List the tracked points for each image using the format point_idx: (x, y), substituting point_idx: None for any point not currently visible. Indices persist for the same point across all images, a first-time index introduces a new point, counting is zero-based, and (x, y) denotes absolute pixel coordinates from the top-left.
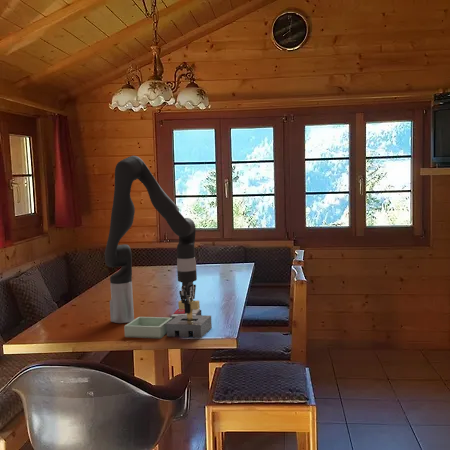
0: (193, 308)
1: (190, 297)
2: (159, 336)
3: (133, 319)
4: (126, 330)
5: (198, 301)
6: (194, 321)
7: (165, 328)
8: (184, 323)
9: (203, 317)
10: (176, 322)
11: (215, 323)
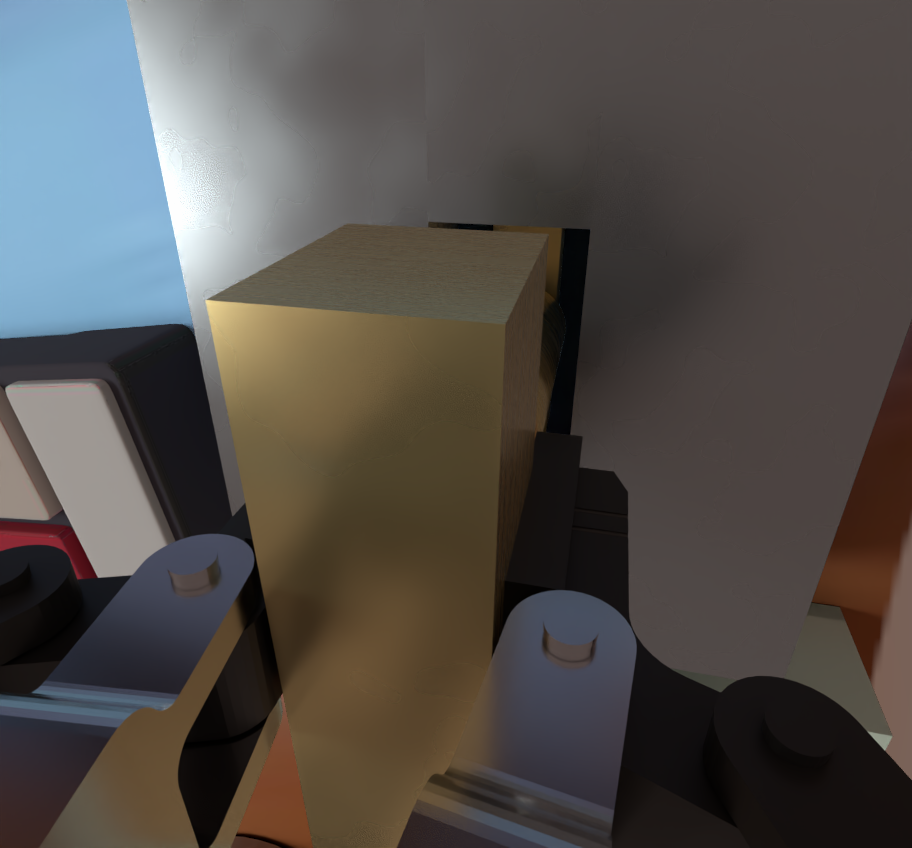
0: (534, 391)
1: (518, 808)
2: (841, 635)
3: (248, 845)
4: None
5: (331, 305)
6: (635, 255)
7: None
8: (794, 423)
9: (302, 143)
10: (701, 564)
11: (47, 41)
